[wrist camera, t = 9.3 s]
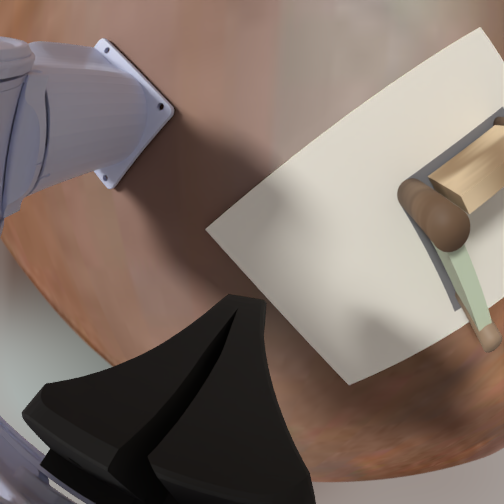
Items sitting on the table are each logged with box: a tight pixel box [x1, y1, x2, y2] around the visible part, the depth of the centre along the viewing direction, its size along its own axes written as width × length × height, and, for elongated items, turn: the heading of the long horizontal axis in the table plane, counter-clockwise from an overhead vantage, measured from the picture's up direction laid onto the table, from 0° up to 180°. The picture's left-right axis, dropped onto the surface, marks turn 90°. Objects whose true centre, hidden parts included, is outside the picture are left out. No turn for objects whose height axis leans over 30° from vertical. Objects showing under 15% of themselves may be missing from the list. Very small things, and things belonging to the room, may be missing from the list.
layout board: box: [205, 27, 504, 385], centre depth 16 cm, size 18×24×1 cm
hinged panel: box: [431, 241, 502, 352], centre depth 13 cm, size 8×1×6 cm, turn 43°
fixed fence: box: [397, 117, 504, 252], centre depth 11 cm, size 10×2×6 cm, turn 132°
